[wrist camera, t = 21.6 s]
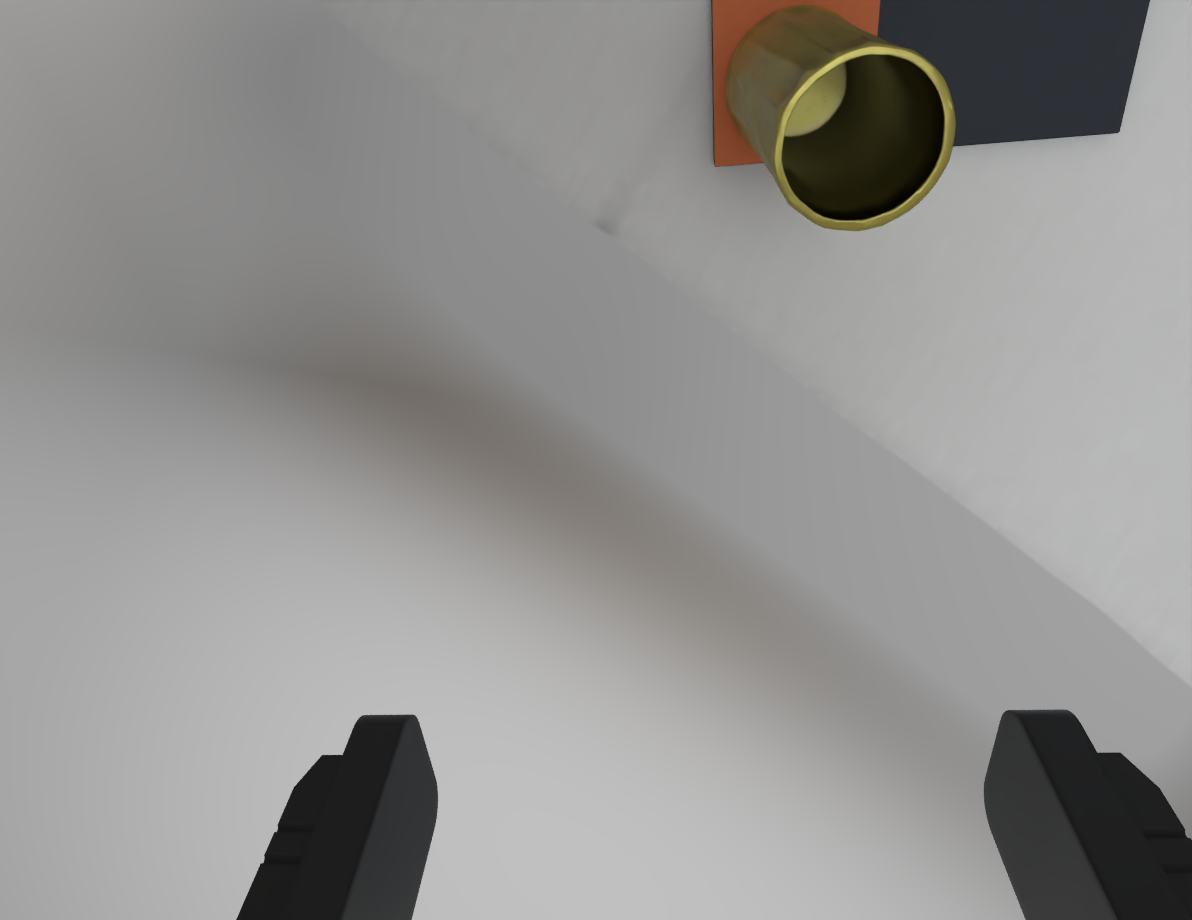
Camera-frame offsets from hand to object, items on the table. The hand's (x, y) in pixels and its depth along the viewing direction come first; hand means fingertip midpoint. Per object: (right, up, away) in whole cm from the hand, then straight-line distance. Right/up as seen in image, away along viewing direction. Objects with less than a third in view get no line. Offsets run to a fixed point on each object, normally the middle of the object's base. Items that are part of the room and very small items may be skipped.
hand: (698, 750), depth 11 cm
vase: (+7, +21, +24) cm, 33 cm away
